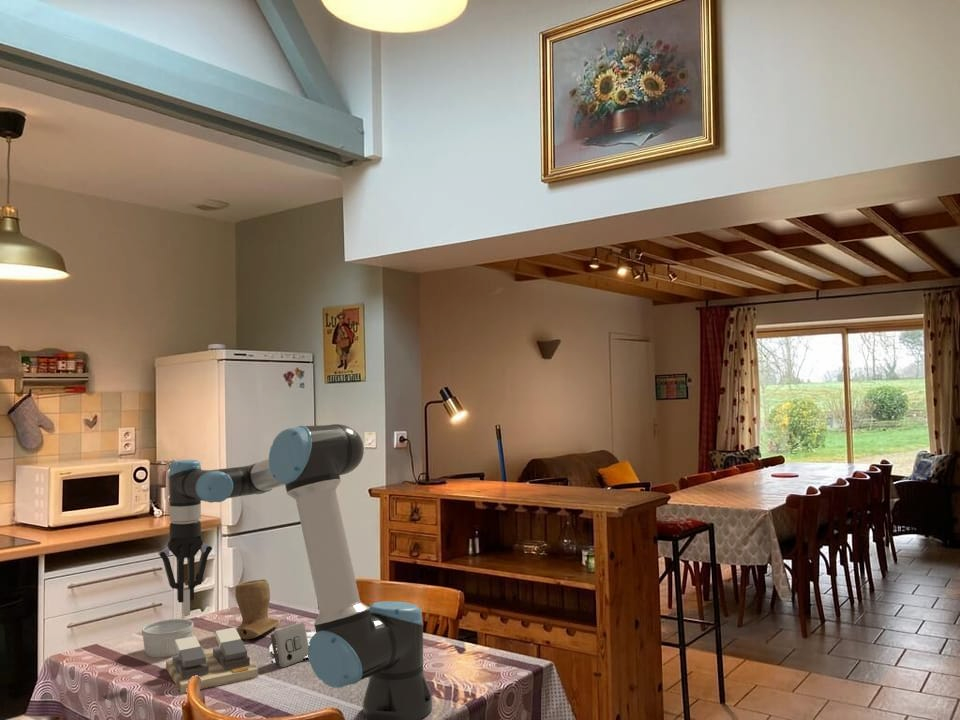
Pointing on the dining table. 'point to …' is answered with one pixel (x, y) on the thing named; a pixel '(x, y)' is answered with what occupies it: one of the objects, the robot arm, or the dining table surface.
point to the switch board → (211, 670)
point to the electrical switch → (290, 644)
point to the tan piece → (254, 608)
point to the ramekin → (165, 636)
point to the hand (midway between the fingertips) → (185, 614)
